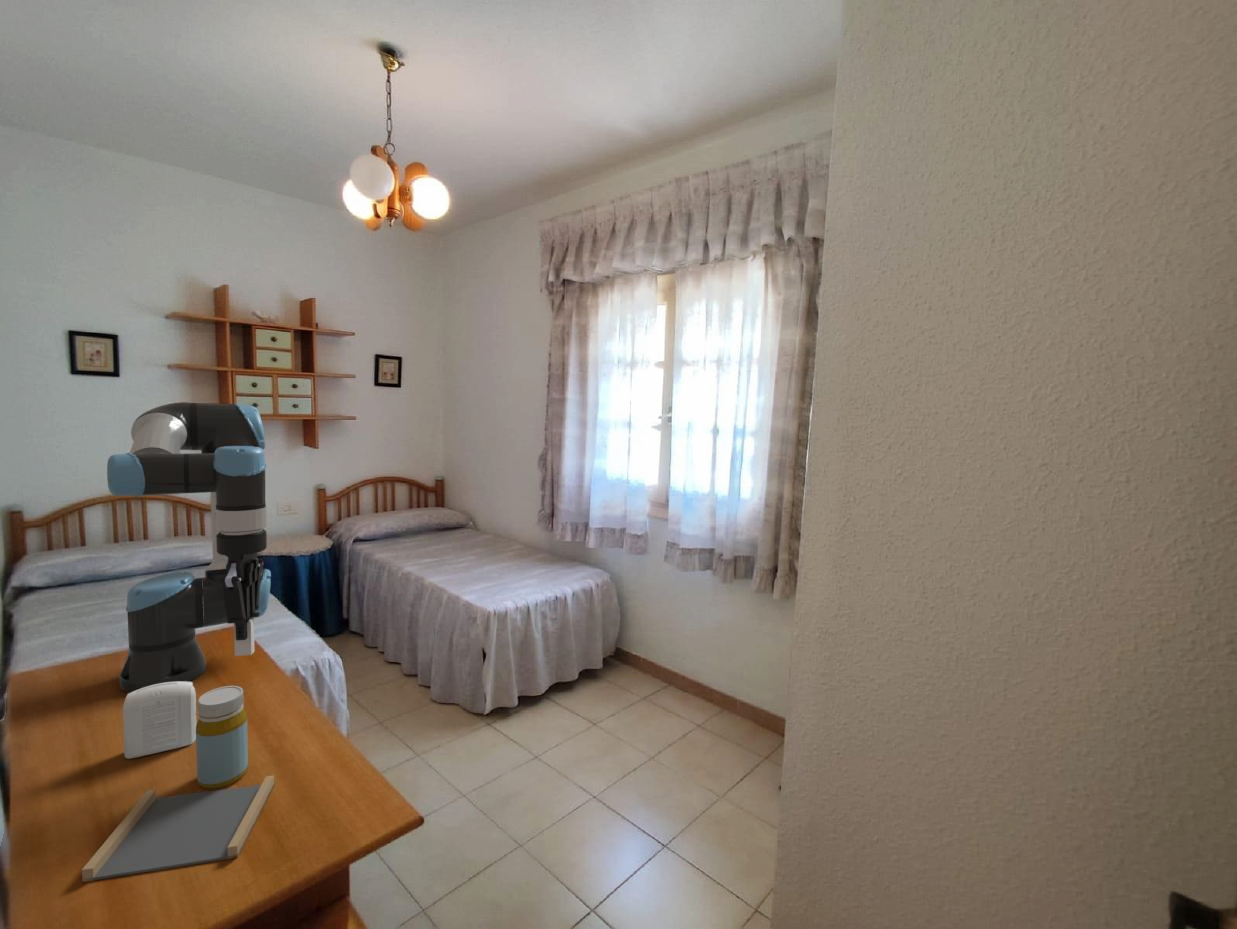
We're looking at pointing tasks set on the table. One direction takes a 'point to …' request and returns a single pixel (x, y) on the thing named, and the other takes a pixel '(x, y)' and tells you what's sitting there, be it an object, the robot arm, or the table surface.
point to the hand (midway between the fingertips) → (244, 653)
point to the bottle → (221, 737)
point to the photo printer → (159, 718)
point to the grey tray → (180, 831)
